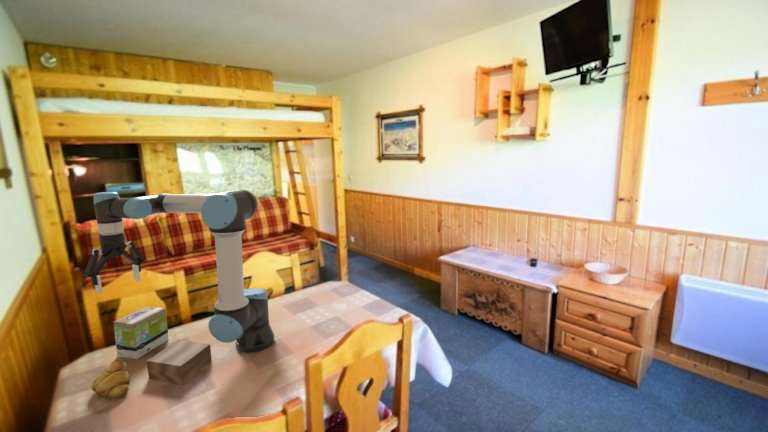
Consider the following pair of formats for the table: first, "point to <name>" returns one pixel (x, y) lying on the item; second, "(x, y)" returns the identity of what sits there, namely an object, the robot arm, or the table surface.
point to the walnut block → (179, 362)
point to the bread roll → (112, 381)
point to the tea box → (140, 332)
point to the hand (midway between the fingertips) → (119, 286)
